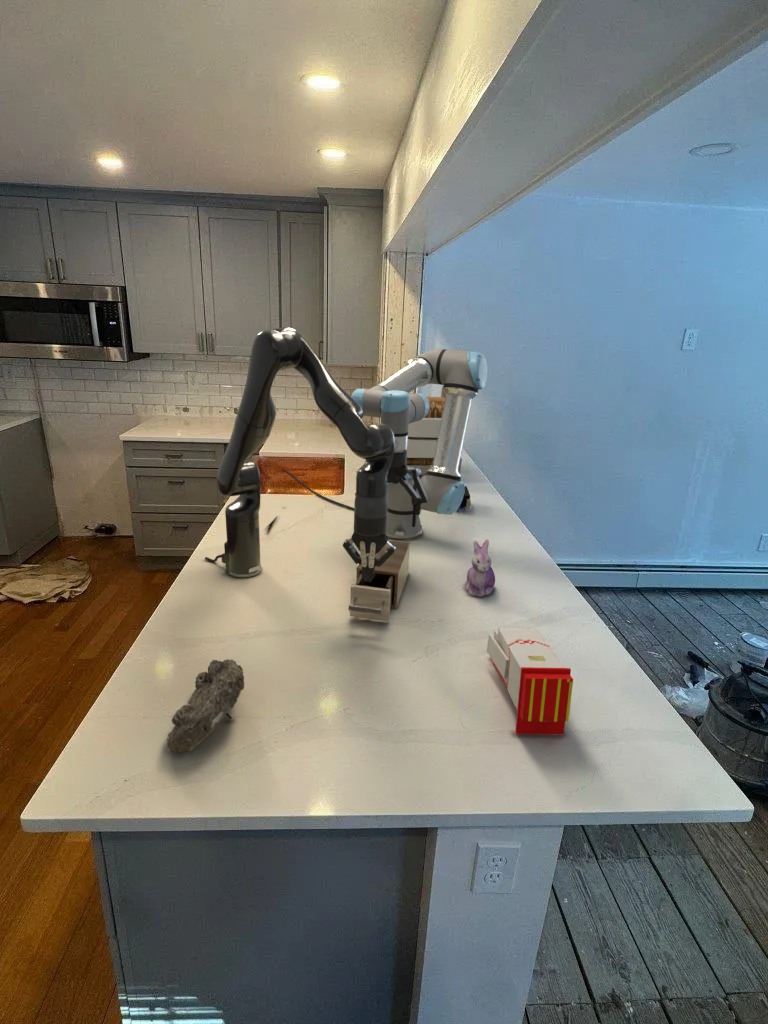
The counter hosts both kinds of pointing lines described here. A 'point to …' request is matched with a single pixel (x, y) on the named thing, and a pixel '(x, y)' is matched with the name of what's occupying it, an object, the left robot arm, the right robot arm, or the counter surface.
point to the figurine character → (465, 500)
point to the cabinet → (394, 567)
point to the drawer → (372, 597)
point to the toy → (532, 679)
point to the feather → (270, 524)
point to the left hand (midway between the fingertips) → (368, 579)
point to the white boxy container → (426, 435)
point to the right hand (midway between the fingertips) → (390, 522)
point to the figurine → (480, 572)
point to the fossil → (206, 705)
